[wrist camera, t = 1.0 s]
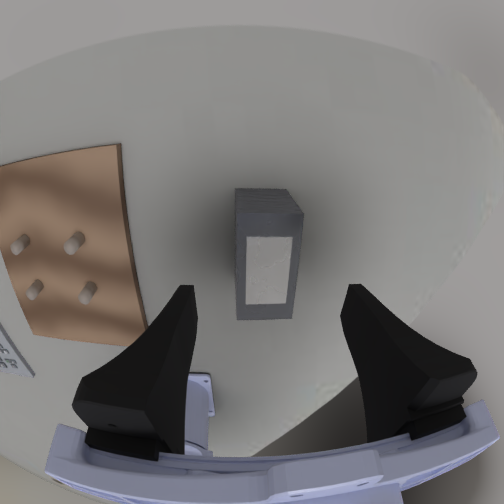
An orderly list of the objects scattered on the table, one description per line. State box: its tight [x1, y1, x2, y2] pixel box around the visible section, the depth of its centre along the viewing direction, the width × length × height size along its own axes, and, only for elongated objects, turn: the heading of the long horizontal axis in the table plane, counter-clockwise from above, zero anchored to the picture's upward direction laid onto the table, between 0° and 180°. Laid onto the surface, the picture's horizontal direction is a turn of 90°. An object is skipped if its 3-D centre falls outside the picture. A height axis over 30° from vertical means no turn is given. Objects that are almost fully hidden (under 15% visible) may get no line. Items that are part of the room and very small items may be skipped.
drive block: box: [235, 188, 304, 320], centre depth 22 cm, size 8×4×6 cm, turn 179°
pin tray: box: [0, 144, 148, 346], centre depth 22 cm, size 20×16×3 cm
